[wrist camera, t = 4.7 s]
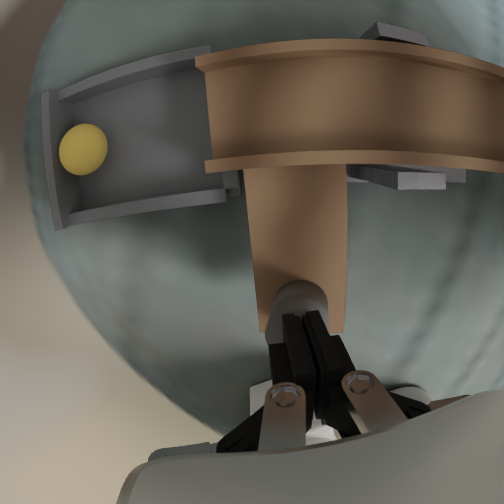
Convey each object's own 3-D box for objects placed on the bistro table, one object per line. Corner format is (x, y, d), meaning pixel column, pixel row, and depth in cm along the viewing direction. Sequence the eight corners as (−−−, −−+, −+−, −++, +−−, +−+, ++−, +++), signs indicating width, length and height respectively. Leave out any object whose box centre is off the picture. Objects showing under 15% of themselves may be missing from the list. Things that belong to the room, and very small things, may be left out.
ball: (48, 133, 13) (85, 130, 16) (53, 183, 15) (90, 174, 18) (75, 117, 12) (115, 117, 15) (80, 174, 13) (120, 166, 16)
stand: (453, 79, 15) (511, 66, 8) (462, 181, 18) (523, 198, 11) (320, 57, 15) (355, 13, 8) (333, 182, 18) (379, 197, 11)
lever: (524, 87, 8) (558, 81, 4) (510, 310, 13) (534, 339, 9) (209, 66, 13) (178, 46, 9) (239, 323, 18) (221, 362, 14)
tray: (227, 56, 15) (222, 36, 12) (241, 195, 18) (239, 203, 15) (68, 99, 15) (41, 93, 12) (80, 218, 19) (55, 230, 15)
